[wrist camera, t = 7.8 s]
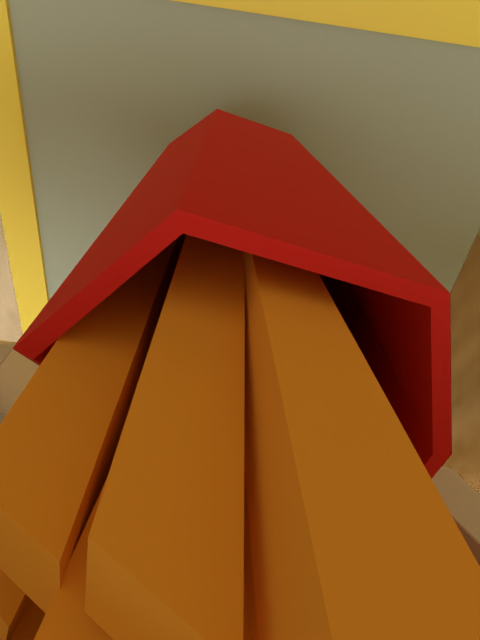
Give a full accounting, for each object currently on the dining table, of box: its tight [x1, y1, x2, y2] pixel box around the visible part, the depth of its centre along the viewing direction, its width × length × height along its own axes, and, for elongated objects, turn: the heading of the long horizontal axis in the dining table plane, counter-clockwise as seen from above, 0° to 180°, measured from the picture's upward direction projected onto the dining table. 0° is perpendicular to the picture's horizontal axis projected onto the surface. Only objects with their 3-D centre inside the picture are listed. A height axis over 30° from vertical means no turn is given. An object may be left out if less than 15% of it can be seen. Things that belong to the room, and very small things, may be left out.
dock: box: [0, 0, 480, 334], centre depth 16 cm, size 16×14×3 cm
